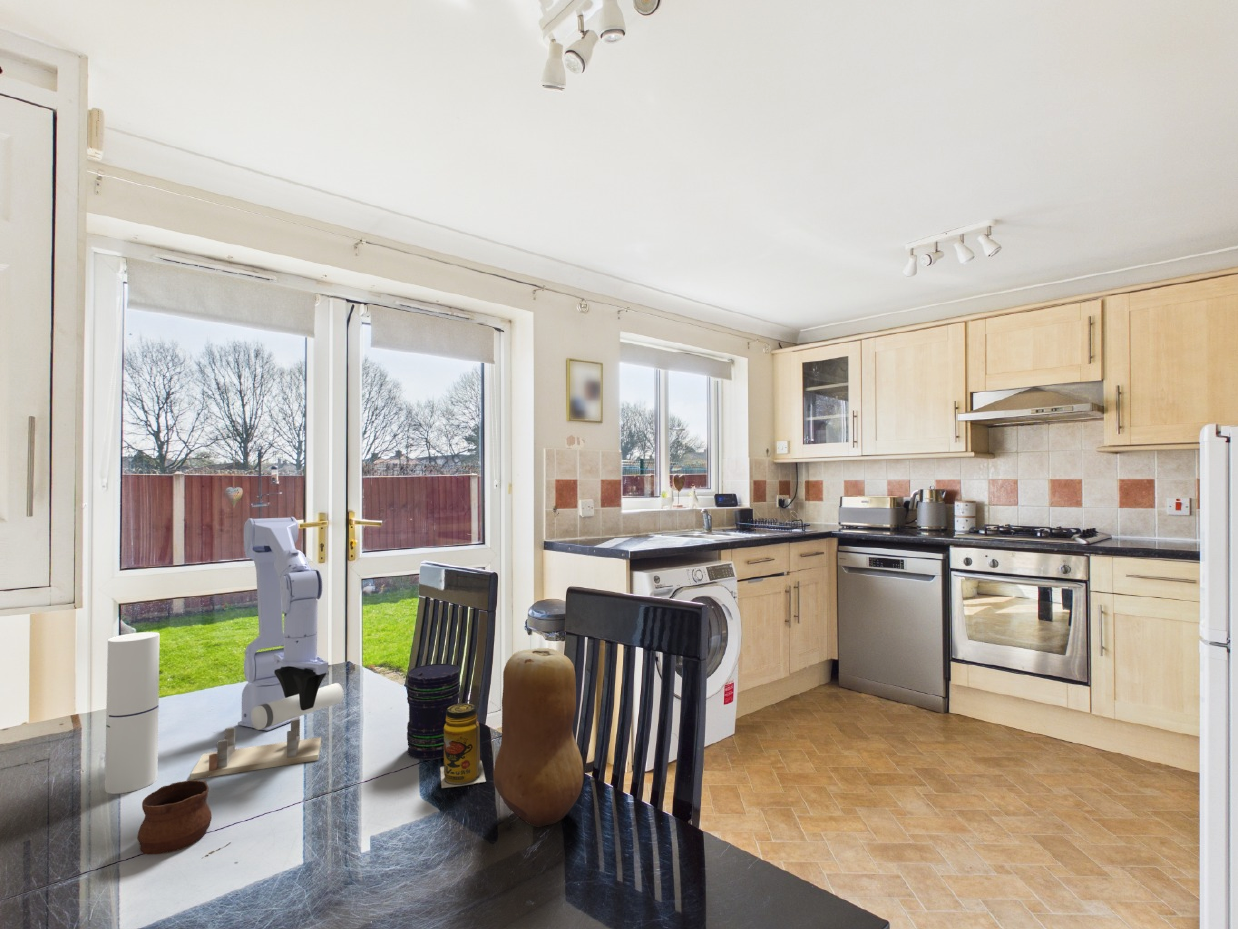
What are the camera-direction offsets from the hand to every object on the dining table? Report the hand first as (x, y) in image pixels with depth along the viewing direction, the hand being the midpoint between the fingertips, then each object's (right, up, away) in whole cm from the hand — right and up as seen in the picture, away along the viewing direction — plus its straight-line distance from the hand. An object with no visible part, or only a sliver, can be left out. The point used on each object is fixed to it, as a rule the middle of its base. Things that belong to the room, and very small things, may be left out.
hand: (300, 706), depth 120 cm
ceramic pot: (-3, -9, -29) cm, 30 cm away
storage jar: (+25, -9, +1) cm, 27 cm away
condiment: (+33, -8, -10) cm, 36 cm away
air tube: (0, 0, 0) cm, 0 cm away
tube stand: (-6, -9, -3) cm, 11 cm away
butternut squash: (+49, -8, -25) cm, 55 cm away
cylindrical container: (-23, -9, -12) cm, 27 cm away
